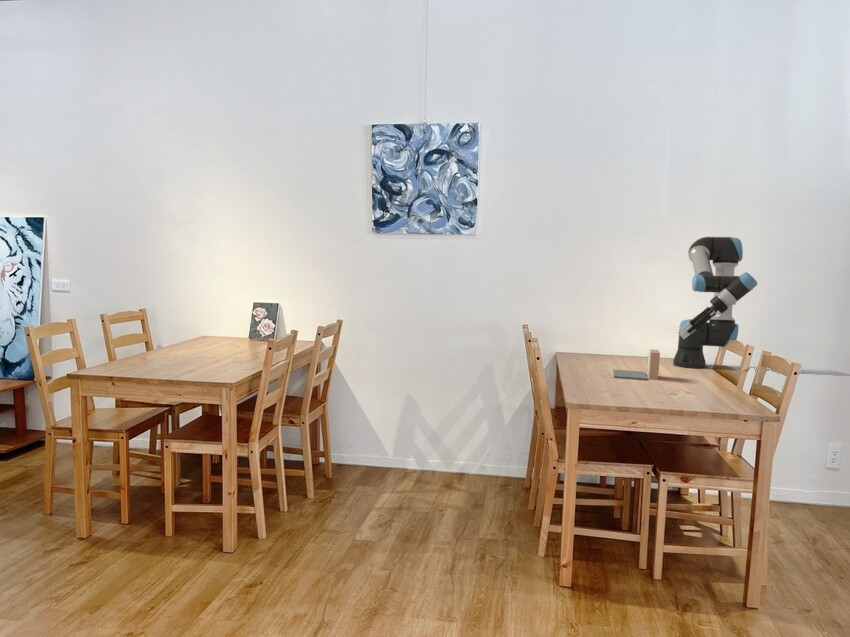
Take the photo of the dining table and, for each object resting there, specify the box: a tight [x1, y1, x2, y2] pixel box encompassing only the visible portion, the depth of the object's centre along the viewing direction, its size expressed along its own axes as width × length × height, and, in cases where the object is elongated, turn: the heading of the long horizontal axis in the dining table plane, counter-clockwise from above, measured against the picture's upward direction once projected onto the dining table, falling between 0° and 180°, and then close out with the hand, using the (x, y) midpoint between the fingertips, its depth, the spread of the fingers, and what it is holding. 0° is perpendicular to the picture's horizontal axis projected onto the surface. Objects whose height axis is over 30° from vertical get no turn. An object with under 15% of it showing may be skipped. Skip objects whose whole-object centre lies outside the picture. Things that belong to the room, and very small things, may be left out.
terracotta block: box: [646, 348, 661, 381], centre depth 297 cm, size 4×9×12 cm, turn 165°
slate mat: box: [613, 369, 648, 381], centre depth 300 cm, size 14×16×1 cm
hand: (680, 335), depth 293 cm, fingers open, 8 cm apart
